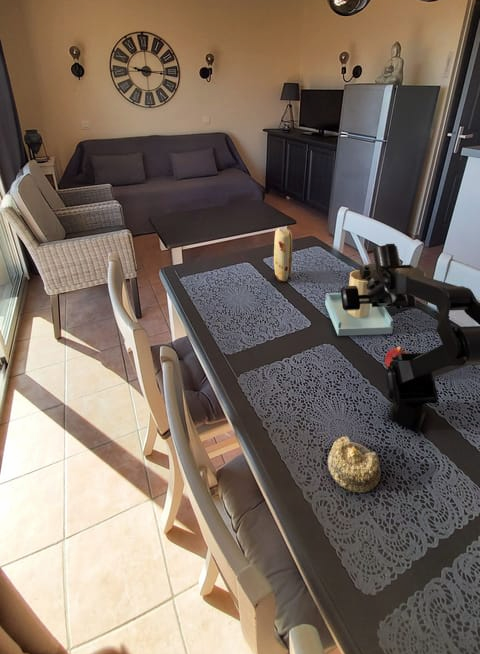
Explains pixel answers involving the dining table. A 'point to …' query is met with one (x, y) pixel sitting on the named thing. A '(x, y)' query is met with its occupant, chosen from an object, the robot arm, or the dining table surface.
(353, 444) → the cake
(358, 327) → the shallow mint tray
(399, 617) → the dining table surface
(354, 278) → the cup
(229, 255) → the dining table surface
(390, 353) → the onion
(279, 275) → the food model
